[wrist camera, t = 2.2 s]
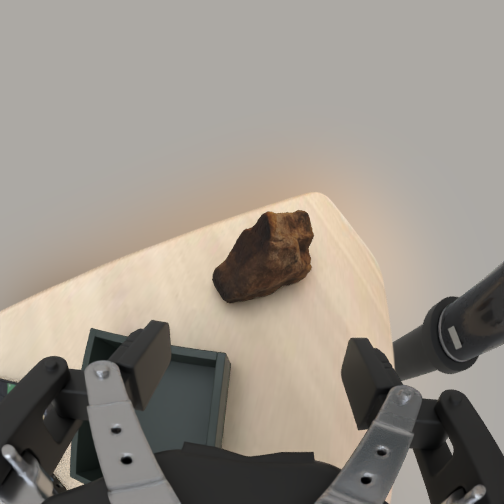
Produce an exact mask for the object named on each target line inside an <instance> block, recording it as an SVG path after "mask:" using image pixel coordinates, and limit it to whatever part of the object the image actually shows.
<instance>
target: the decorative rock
mask: <svg viewBox="0 0 504 504" xmlns="http://www.w3.org/2000/svg"><path fill="white" fill-rule="evenodd" d="M313 237H314V234H313V232H312V227H311V222H310V218H309V215H308V213H307V212H305V211H301V210H297V211H296V212H293V213H289V212H286V213H277V214H276V213H273V212H266V213H264V214H262V215H261V217H260V218H259V219H258V221H257V223H256V224H255V225H254V226H253V227H252V228H249V229H245V230H244V231H243V232H242V233H241V234H240V236H239V238H238V239H237V241H236V243H235V245H234V247H233V249H232V250H231V252H230V253H229V255H228V257H227V259H226V260H225V261H224V262H223V263H222V264H220V265H219V266H218V267H217V268H216V269H215V270H214V273H213V279H212V280H213V283H214V286H215V287H216V289H217V291H218V292H219V294H220V295H221V298H222V299H223V300H224V301H226V302H227V303H233V302H238V301H245V300H250V299H253V298H255V297H262V296H266V295H269V294H271V293H273V292H274V291H276V290H277V289H279V288H280V287H282V286H284V285H290V284H293V283H296V282H299V281H300V280H302V279H303V278H304V277H305V276H306V275H307V273H309V272H310V270H311V268H312V266H311V265H310V263H311V257H310V254H309V249H308V248H309V246H310V244H311V242H312V239H313Z"/></svg>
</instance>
